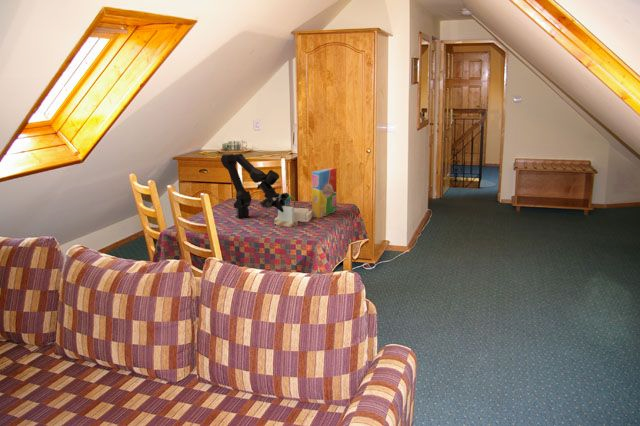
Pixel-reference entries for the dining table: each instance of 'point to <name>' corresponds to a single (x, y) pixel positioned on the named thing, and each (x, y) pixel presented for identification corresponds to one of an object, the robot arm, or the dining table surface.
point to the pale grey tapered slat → (286, 214)
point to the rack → (301, 215)
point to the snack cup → (288, 201)
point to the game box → (324, 192)
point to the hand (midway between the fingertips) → (284, 211)
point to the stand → (286, 223)
